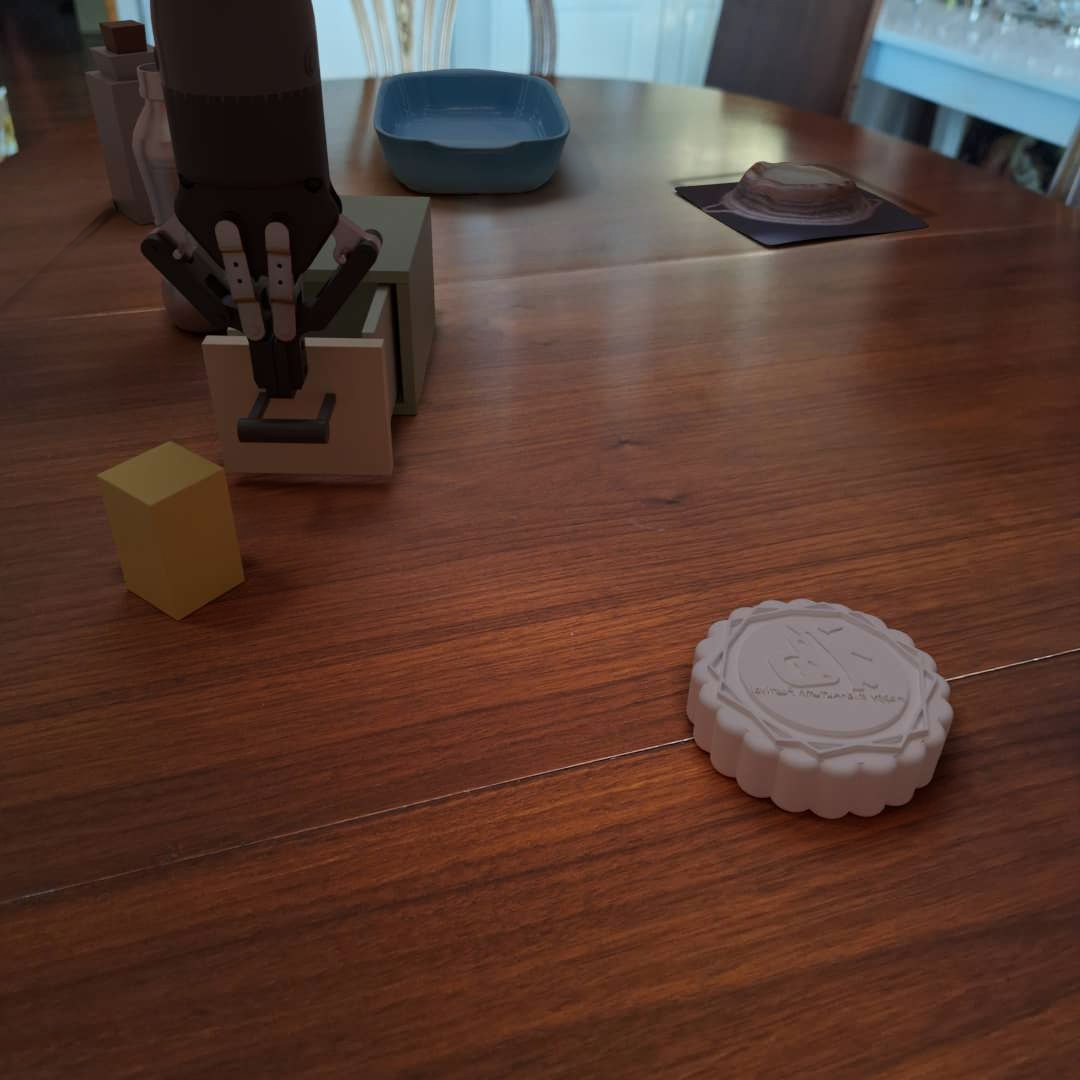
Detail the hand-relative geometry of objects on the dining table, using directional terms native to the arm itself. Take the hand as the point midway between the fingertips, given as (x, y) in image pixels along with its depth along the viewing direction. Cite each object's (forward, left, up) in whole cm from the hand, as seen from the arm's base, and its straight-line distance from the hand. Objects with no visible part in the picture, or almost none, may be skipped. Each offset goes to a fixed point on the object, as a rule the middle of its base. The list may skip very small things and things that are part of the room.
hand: (283, 392), depth 60 cm
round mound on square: (+43, +61, -8) cm, 75 cm away
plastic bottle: (-13, +27, -8) cm, 31 cm away
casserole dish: (+6, +77, -8) cm, 78 cm away
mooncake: (+28, -18, -8) cm, 34 cm away
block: (-5, -8, -8) cm, 12 cm away
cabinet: (0, +20, -8) cm, 22 cm away
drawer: (0, +7, -7) cm, 10 cm away
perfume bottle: (-26, +56, -8) cm, 62 cm away
